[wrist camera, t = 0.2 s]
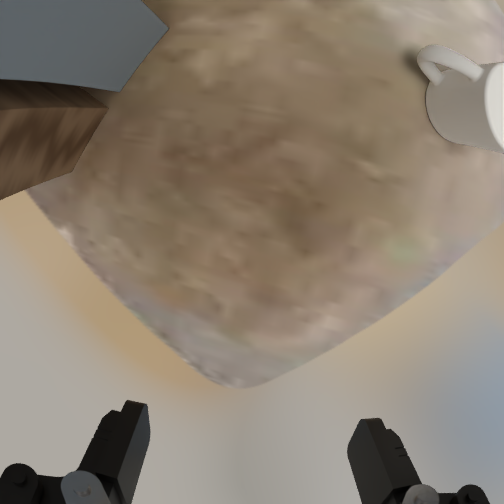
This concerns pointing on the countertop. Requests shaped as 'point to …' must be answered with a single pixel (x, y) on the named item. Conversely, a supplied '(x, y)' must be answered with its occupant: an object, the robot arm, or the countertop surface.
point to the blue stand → (76, 40)
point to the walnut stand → (42, 131)
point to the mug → (464, 98)
